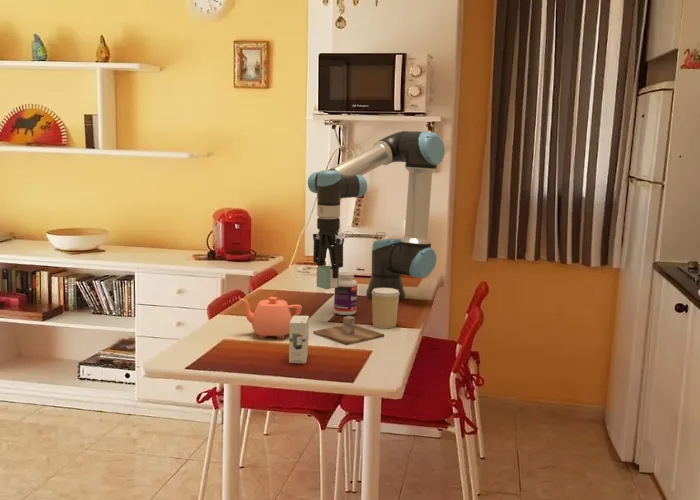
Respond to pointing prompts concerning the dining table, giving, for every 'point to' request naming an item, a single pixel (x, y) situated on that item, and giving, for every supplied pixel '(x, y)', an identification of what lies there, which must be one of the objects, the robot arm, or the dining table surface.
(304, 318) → the ink box
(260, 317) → the teapot
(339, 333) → the post stand
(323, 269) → the teal green block
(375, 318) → the coffee cup
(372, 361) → the dining table surface
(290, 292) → the dining table surface
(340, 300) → the pill bottle
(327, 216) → the robot arm
